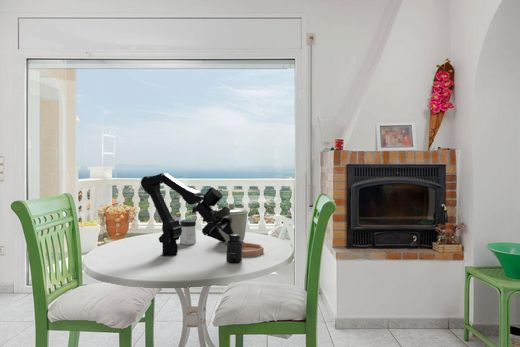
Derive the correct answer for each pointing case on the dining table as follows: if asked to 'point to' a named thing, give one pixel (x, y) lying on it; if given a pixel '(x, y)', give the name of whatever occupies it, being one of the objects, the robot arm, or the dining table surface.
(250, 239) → the dining table surface
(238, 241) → the supplement bottle
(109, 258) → the dining table surface
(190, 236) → the jar
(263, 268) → the dining table surface
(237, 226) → the canister
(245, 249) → the terracotta octagonal tray
